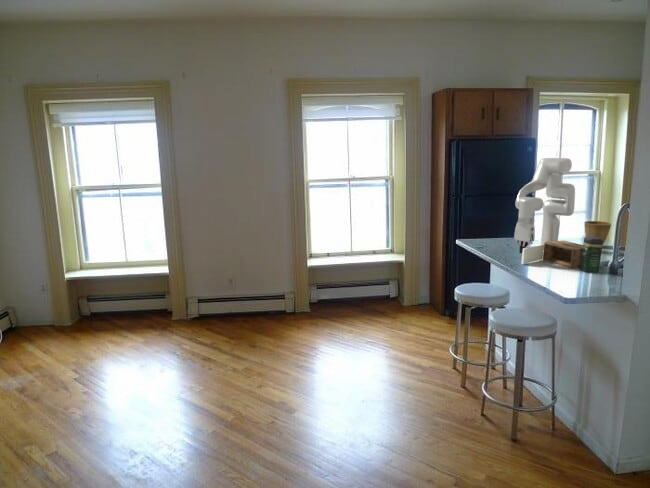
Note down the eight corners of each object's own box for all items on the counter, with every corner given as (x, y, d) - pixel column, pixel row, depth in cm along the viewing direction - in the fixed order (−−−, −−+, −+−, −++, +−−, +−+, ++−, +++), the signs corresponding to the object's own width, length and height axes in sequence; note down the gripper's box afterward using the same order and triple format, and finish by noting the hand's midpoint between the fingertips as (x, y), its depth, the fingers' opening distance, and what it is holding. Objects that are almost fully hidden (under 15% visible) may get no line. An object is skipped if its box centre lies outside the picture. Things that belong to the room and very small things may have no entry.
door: (542, 259, 253) (544, 244, 251) (523, 264, 242) (524, 248, 240) (538, 258, 255) (540, 243, 253) (519, 263, 244) (520, 248, 242)
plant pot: (598, 244, 293) (601, 220, 289) (613, 249, 278) (616, 224, 275) (576, 244, 292) (579, 220, 289) (590, 249, 278) (593, 224, 275)
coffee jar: (601, 273, 225) (606, 238, 221) (584, 272, 227) (588, 237, 223) (594, 268, 235) (598, 234, 231) (578, 267, 236) (582, 234, 232)
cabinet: (561, 257, 257) (563, 240, 255) (591, 266, 239) (593, 247, 237) (542, 259, 253) (544, 242, 251) (571, 268, 235) (573, 249, 232)
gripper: (541, 222, 238) (538, 254, 242) (518, 218, 250) (515, 249, 254) (533, 223, 234) (529, 256, 238) (509, 219, 247) (506, 251, 251)
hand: (522, 252), depth 246 cm, fingers closed
